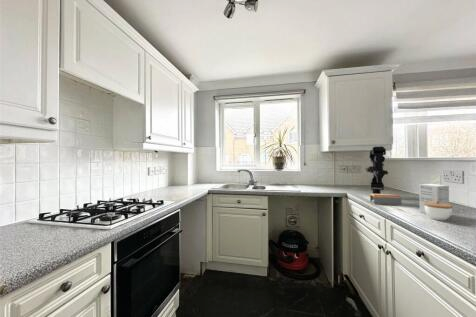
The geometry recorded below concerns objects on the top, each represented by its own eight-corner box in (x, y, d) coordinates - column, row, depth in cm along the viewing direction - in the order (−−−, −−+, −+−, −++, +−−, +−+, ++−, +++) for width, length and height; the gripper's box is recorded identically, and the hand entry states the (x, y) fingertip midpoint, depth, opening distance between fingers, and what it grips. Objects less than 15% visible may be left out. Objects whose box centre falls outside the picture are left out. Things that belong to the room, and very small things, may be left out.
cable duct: (370, 201, 151) (370, 194, 151) (395, 202, 146) (395, 195, 146) (374, 203, 143) (374, 196, 143) (401, 205, 138) (401, 198, 138)
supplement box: (430, 211, 123) (430, 183, 123) (449, 215, 114) (449, 185, 114) (418, 212, 120) (418, 183, 120) (437, 216, 111) (437, 185, 111)
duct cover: (370, 194, 151) (370, 192, 151) (395, 195, 146) (395, 193, 146) (374, 196, 143) (374, 194, 143) (401, 198, 138) (401, 195, 138)
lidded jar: (443, 216, 112) (443, 199, 112) (458, 222, 101) (458, 203, 101) (419, 215, 114) (419, 198, 114) (431, 220, 104) (431, 202, 104)
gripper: (362, 162, 168) (363, 181, 168) (370, 162, 150) (370, 184, 150) (378, 162, 164) (378, 181, 164) (388, 163, 146) (388, 184, 146)
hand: (378, 183), depth 156 cm, fingers closed
